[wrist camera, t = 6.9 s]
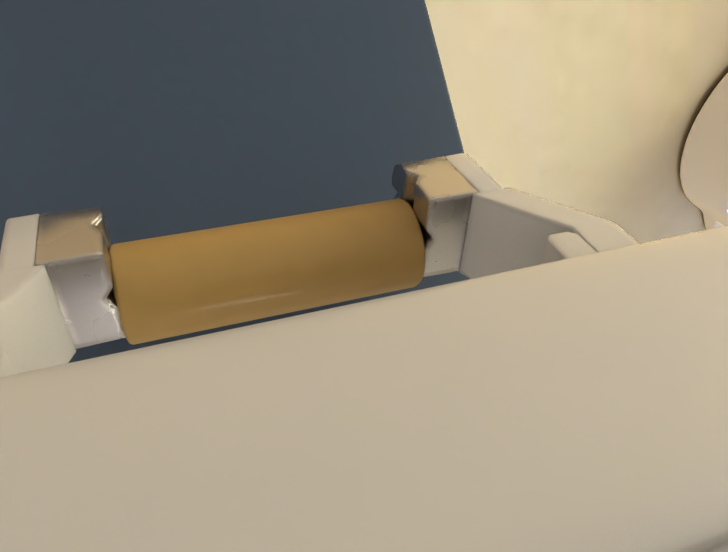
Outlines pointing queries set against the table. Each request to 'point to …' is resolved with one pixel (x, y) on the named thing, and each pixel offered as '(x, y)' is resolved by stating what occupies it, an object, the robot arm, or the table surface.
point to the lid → (226, 150)
